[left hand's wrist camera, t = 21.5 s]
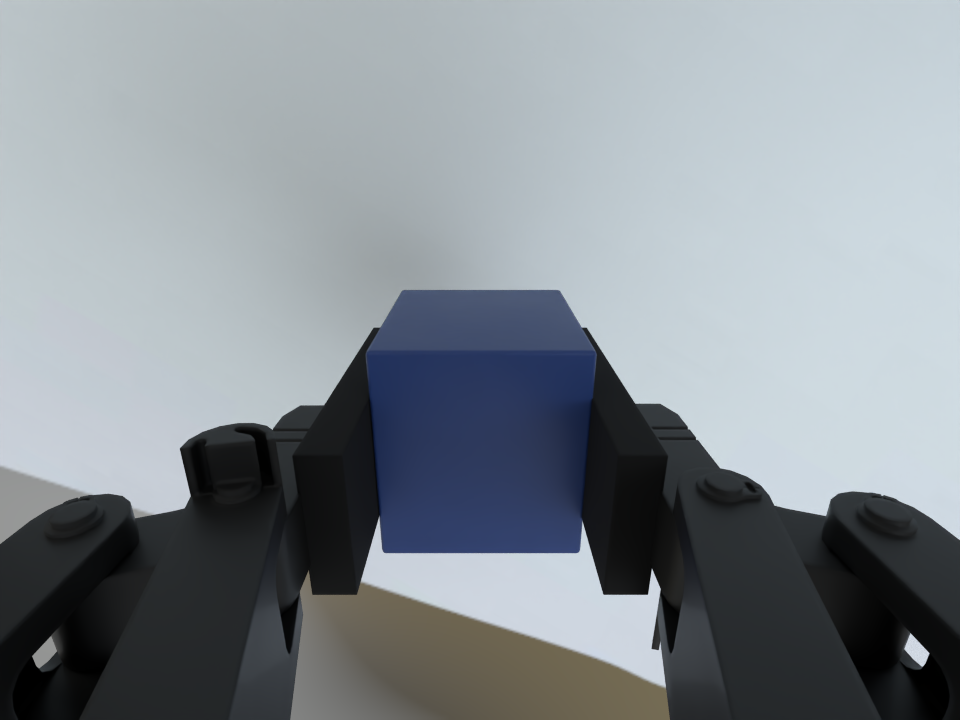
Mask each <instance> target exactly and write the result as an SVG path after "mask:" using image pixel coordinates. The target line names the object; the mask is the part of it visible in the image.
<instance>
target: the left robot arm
mask: <svg viewBox="0 0 960 720" xmlns="http://www.w3.org/2000/svg"><path fill="white" fill-rule="evenodd" d="M582 329H583V331H584V332H585V334H586V336H587V338H588V339H589V341H590V343H591V344H592V346H593V348H594V349H595V351H596V354H597V356H596V368H595V379H594V391H593V399H592V405H591V417H590V428H589V440H588V452H587V463H586V475H585V487H584V499H583V510H582V521H583V524H584V528H585V531H586V535H587V538H588V542H589V545H590V549H591V552H592V556H593V559H594V563H595V566H596V570H597V573H598V577H599V580H600V584H601V587H602V591H603V594H604V595H648V591H649V584H650V577H651V570H652V569H653V572H654V574H655V576H656V579H657V581H658V583H659V586H660V588H661V591H660V598H659V604H658V611H657V617H656V623H655V630H654V636H653V643H652V649H655V650H659V645H660V641H661V650H662V658H663V666H664V674H665V682H666V690H667V698H668V706H669V715H670V720H960V540H959V539H957V538H956V537H955V536H953V535H952V534H951V533H950V532H948V531H947V530H946V529H944V528H943V527H942V526H940V525H939V524H938V523H936V522H935V521H934V520H933V519H931V518H930V517H928V516H926V515H925V514H923V513H922V512H920V511H918V510H917V509H915V508H914V507H911V506H909V505H906V504H904V503H902V502H899V501H898V500H896V499H894V498H891V497H888V496H885V495H884V496H881V494H876V493H864V492H846V493H840V494H838V495H836V496H835V497H834V498H832V499H831V501H830V505H829V508H828V512H827V515H826V516H822V515H817V514H811V513H806V512H801V511H796V510H790V509H786V508H781V507H777V506H774V504H773V502H772V500H771V498H770V496H769V495H768V494H767V492H766V491H765V490H764V489H763V488H762V486H761V485H759V484H758V483H756V482H754V481H753V480H751V479H750V478H748V477H746V476H744V475H741V474H738V473H736V472H733V471H730V470H725V469H720V468H719V466H718V465H717V464H716V463H715V461H714V460H713V459H712V458H711V456H710V455H709V454H708V452H707V451H706V450H705V449H704V447H703V446H702V445H701V443H700V442H699V441H698V440H696V437H695V436H694V434H693V433H692V432H691V431H690V430H688V427H687V425H686V424H685V423H684V422H683V420H682V419H681V418H680V416H679V415H678V414H676V413H675V412H673V411H671V410H670V409H668V408H666V407H665V406H663V405H661V404H635V403H634V401H633V400H632V398H631V397H630V395H629V393H628V392H627V390H626V389H625V387H624V386H623V384H622V382H621V381H620V379H619V378H618V376H617V375H616V373H615V371H614V370H613V368H612V367H611V365H610V364H609V362H608V360H607V359H606V357H605V356H604V354H603V353H602V351H601V350H600V348H599V346H598V345H597V343H596V342H595V340H594V339H593V337H592V335H591V334H590V332H589V331H588V329H587V328H582ZM379 330H380V328H373V330H372V331H371V333H370V334H369V336H368V338H367V339H366V341H365V342H364V344H363V345H362V347H361V349H360V350H359V352H358V353H357V355H356V356H355V358H354V360H353V361H352V363H351V364H350V366H349V367H348V369H347V371H346V372H345V374H344V375H343V377H342V378H341V380H340V381H339V383H338V385H337V386H336V388H335V389H334V391H333V392H332V394H331V396H330V397H329V399H328V400H327V402H326V403H325V405H324V406H299V407H297V408H296V409H294V410H292V411H291V412H289V413H287V414H286V415H284V416H283V417H282V418H281V419H280V420H279V422H278V423H277V424H276V426H275V427H274V428H273V430H272V429H270V428H269V427H268V426H265V425H260V424H256V423H237V424H231V425H225V426H220V427H216V428H213V429H210V430H207V431H204V432H202V433H200V434H198V435H196V436H195V437H193V438H191V439H189V440H188V441H187V442H186V443H185V444H184V445H183V446H182V447H181V448H180V451H181V456H182V460H183V464H184V468H185V473H186V477H187V481H188V486H189V490H190V494H191V497H190V499H189V501H188V503H187V505H186V507H185V508H184V509H180V510H176V511H172V512H167V513H161V514H156V515H151V516H146V517H140V518H135V517H134V513H133V510H132V506H131V503H130V501H128V500H127V499H126V498H124V497H123V496H119V495H113V494H101V495H88V496H83V497H80V498H79V499H78V498H75V499H71V500H68V501H66V502H64V503H63V504H61V505H58V506H56V507H54V508H51V509H49V510H47V511H45V512H44V513H42V514H41V515H39V516H37V517H36V518H34V519H33V520H31V521H30V522H28V523H27V524H26V525H24V526H23V527H22V528H21V529H19V530H18V531H17V532H15V533H14V534H13V535H12V536H10V537H9V538H8V539H6V540H5V541H4V542H2V543H1V544H0V720H290V716H291V707H292V699H293V691H294V683H295V675H296V667H297V659H298V651H299V643H300V634H301V626H302V618H303V611H302V604H301V598H300V589H301V587H302V585H303V582H304V580H305V577H306V575H307V573H308V570H309V574H310V581H311V588H312V594H313V595H357V592H358V589H359V585H360V582H361V578H362V575H363V571H364V568H365V564H366V561H367V557H368V554H369V550H370V546H371V543H372V539H373V536H374V532H375V529H376V525H377V522H378V518H379V505H378V493H377V481H376V469H375V458H374V446H373V434H372V423H371V411H370V399H369V387H368V376H367V364H366V352H367V350H368V348H369V347H370V345H371V343H372V341H373V340H374V338H375V336H376V335H377V333H378V331H379ZM910 633H911V634H912V635H913V636H914V637H915V638H916V639H917V640H918V641H919V642H920V643H921V645H922V646H923V647H924V648H925V649H926V650H927V651H928V652H929V653H930V654H929V656H928V659H927V661H926V664H925V665H924V666H923V667H922V666H920V665H919V664H918V663H917V662H916V661H914V660H913V659H912V658H911V656H910V655H909V654H908V653H907V652H906V651H905V650H904V648H905V645H906V643H907V640H908V638H909V635H910ZM50 636H52V639H53V641H54V644H55V646H56V649H57V652H56V653H55V654H54V656H53V657H52V658H51V659H50V660H49V661H48V662H47V663H46V664H44V665H43V666H42V667H41V668H38V667H37V666H36V665H35V662H34V660H33V657H32V655H33V654H34V653H35V652H36V651H37V650H38V649H39V648H40V647H41V646H42V645H43V644H44V643H45V642H46V641H47V639H48V638H49V637H50Z"/></svg>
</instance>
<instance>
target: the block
mask: <svg viewBox="0 0 960 720" xmlns="http://www.w3.org/2000/svg"><path fill="white" fill-rule="evenodd" d="M596 356H597V354H596V351H595V349H594V348H593V346H592V344H591V343H590V341H589V339H588V338H587V336H586V334H585V332H584V331H583V329H582V327H581V326H580V324H579V322H578V321H577V319H576V317H575V316H574V314H573V312H572V311H571V309H570V307H569V305H568V304H567V302H566V300H565V299H564V297H563V295H562V294H561V292H560V291H559V290H403V291H402V292H401V294H400V295H399V297H398V299H397V301H396V302H395V304H394V306H393V307H392V309H391V311H390V312H389V314H388V316H387V318H386V319H385V321H384V323H383V324H382V326H381V328H380V330H379V331H378V333H377V335H376V336H375V338H374V340H373V341H372V343H371V345H370V347H369V348H368V350H367V352H366V364H367V376H368V387H369V399H370V411H371V423H372V434H373V446H374V458H375V469H376V481H377V493H378V505H379V516H380V528H381V540H382V550H383V552H384V553H578V552H579V551H580V544H581V532H582V510H583V499H584V487H585V475H586V463H587V452H588V440H589V428H590V417H591V405H592V399H593V391H594V379H595V368H596Z"/></svg>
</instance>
